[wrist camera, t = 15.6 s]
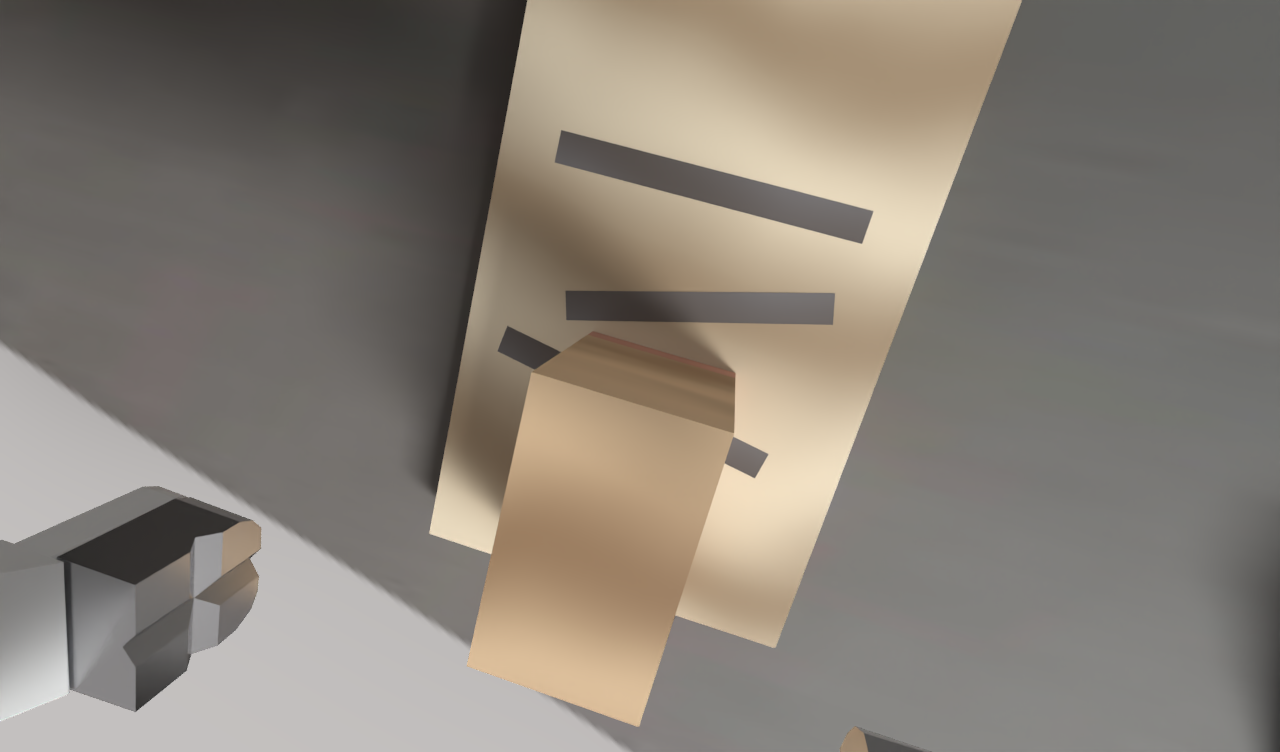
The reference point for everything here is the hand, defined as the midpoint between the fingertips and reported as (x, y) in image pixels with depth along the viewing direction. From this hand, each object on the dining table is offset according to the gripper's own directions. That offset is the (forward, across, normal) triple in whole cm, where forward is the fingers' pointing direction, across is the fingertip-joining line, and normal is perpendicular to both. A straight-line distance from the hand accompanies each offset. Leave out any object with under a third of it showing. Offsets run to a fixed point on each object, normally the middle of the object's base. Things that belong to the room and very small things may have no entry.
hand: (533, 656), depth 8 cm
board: (+11, 0, -4) cm, 12 cm away
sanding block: (+9, 0, +1) cm, 9 cm away
